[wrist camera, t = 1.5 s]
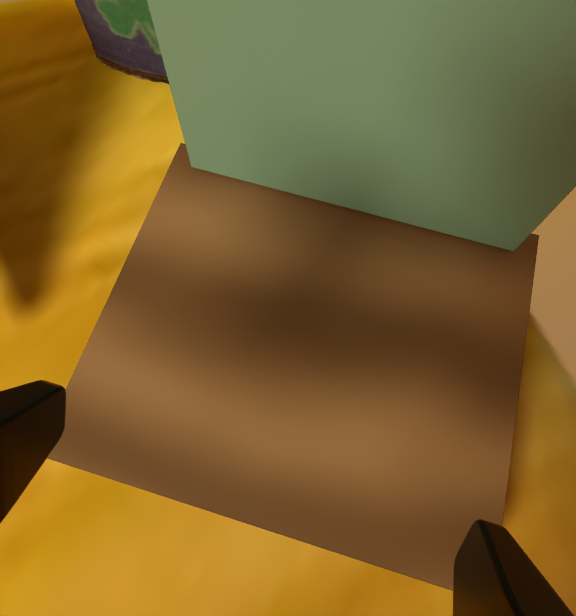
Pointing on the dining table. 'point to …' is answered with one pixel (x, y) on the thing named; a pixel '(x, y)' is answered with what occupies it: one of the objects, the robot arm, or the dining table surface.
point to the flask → (124, 36)
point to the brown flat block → (307, 371)
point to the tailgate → (384, 104)
